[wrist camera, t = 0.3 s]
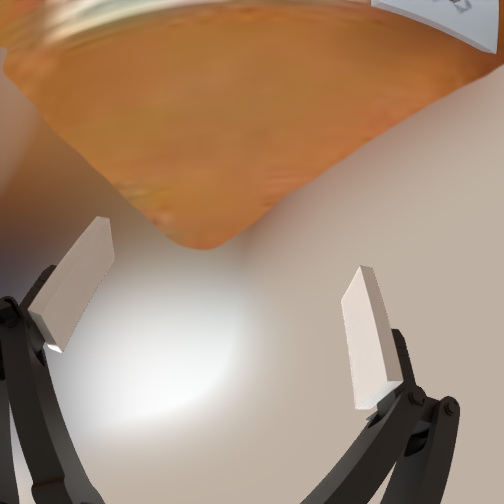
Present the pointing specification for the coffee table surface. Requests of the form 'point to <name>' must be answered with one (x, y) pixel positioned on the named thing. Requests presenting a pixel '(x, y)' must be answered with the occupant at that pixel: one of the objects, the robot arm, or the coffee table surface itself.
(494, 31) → the board
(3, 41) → the coffee table surface
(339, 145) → the coffee table surface
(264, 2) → the coffee table surface
